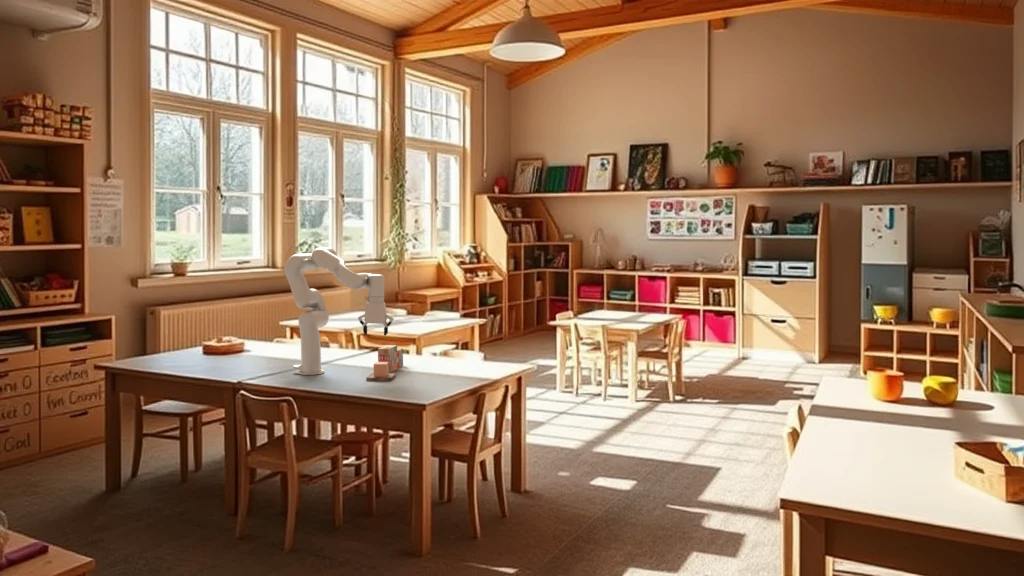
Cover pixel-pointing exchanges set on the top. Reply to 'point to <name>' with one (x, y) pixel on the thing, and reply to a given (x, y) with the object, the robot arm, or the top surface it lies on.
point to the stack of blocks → (391, 356)
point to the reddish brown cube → (380, 369)
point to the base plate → (387, 378)
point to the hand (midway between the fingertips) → (375, 334)
